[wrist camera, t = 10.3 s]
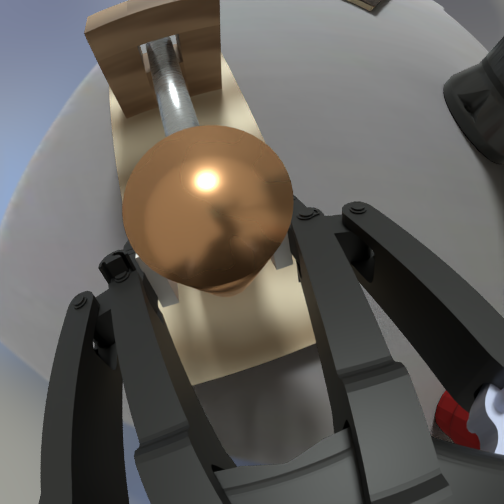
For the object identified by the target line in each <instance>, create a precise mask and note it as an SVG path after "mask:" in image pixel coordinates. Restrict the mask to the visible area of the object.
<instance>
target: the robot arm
mask: <svg viewBox="0 0 504 504" xmlns="http://www.w3.org/2000/svg"><path fill="white" fill-rule="evenodd" d="M443 91H444V96H445V100H446V102H447V105H448V107H449V109H450V111H451V113H452V115H453V116H454V118H455V120H456V121H457V123H458V124H459V126H460V127H461V129H462V130H463V132H464V133H465V134H466V136H467V137H468V138H469V139H470V141H471V142H472V143H473V144H474V145H475V146H476V147H477V149H478V150H479V151H480V152H481V153H483V154H484V155H485V156H486V157H487V158H489V159H490V160H491V161H493V162H495V163H498V164H502V163H504V37H503V38H502V39H501V40H500V41H499V42H498V43H497V45H496V46H495V47H494V48H493V49H492V50H491V51H490V52H489V53H488V54H487V56H486V57H485V58H484V59H483V60H482V61H481V62H480V63H479V64H477V65H475V66H472V67H470V68H468V69H466V70H463V71H461V72H459V73H457V74H454V75H453V76H451V77H450V79H449V80H448V81H447V82H446V83H445V85H444V88H443ZM293 202H294V203H293V214H292V219H291V223H290V226H289V229H288V231H287V234H286V236H285V238H284V240H283V242H282V243H281V245H280V246H279V248H278V249H277V250H276V252H275V253H274V255H273V256H272V257H271V258H270V259H271V261H272V263H273V264H274V266H275V268H276V270H278V269H281V268H284V267H287V266H290V265H293V259H292V255H293V257H294V258H295V259H296V265H297V273H298V282H301V286H302V290H303V293H304V297H305V301H306V305H307V308H308V312H309V316H310V320H311V324H312V328H313V332H314V336H315V340H316V344H317V348H318V352H319V357H320V361H321V365H322V369H323V374H324V378H325V382H326V387H327V391H328V396H329V400H330V405H331V410H332V416H333V426H334V433H335V434H333V435H331V436H329V437H326V438H324V439H322V440H321V441H320V442H318V443H317V444H315V445H314V446H312V447H311V448H309V449H308V450H307V451H305V452H304V453H302V454H300V455H299V456H297V457H296V458H294V459H293V460H291V461H289V462H287V463H284V464H274V465H258V466H239V467H237V466H236V465H235V463H234V462H233V460H232V459H231V458H230V457H229V455H228V454H227V453H226V452H225V450H224V449H223V447H222V445H221V443H220V441H219V440H218V438H217V436H216V434H215V432H214V430H213V428H212V426H211V424H210V422H209V420H208V419H207V417H206V415H205V412H204V410H203V408H202V406H201V404H200V402H199V400H198V398H197V396H196V394H195V392H194V389H193V387H192V385H191V383H190V381H189V378H188V376H187V374H186V372H185V369H184V367H183V365H182V362H181V360H180V357H179V355H178V353H177V350H176V348H175V345H174V343H173V340H172V338H171V335H170V332H169V330H168V327H167V324H166V322H165V319H164V316H163V314H162V312H161V311H160V309H159V307H158V300H159V302H160V303H161V305H162V307H163V308H164V307H167V306H170V305H173V304H177V303H179V295H178V284H177V282H174V281H171V280H169V279H167V278H165V277H163V276H161V275H159V274H158V273H156V272H155V271H153V270H152V269H151V268H150V267H148V266H147V265H146V264H145V263H144V262H143V261H142V260H141V259H140V257H139V256H138V255H137V254H136V252H135V251H134V249H133V248H132V246H131V244H130V242H129V240H128V241H127V243H126V244H125V246H124V249H123V250H117V251H115V252H112V253H111V254H109V255H107V256H106V257H105V258H104V259H103V260H102V261H101V263H100V264H99V270H100V271H101V273H102V275H103V276H104V278H105V279H106V281H107V283H108V285H109V289H108V290H107V291H105V292H104V293H102V294H100V295H99V296H97V297H95V296H94V295H93V294H92V292H90V291H85V292H82V293H80V294H78V295H77V296H75V297H74V299H73V300H72V301H71V303H70V305H69V307H68V310H67V313H66V317H65V320H64V323H63V327H62V330H61V334H60V338H59V341H58V345H57V349H56V353H55V358H54V362H53V367H52V371H51V376H50V382H49V387H48V393H47V399H46V406H45V413H44V423H43V432H42V445H41V496H40V500H39V504H129V497H128V490H127V482H126V472H125V461H124V447H123V427H122V426H123V423H122V385H123V383H124V388H125V392H126V396H127V400H128V404H129V408H130V412H131V415H132V419H133V422H134V426H135V429H136V432H137V436H138V439H139V443H140V446H139V448H138V449H137V450H136V451H135V454H134V459H135V463H136V467H137V470H138V472H139V475H140V478H141V481H142V483H143V486H144V488H145V491H146V493H147V495H148V498H149V500H150V503H151V504H504V318H503V317H502V316H501V315H500V314H499V313H498V312H497V311H496V310H495V309H494V308H493V307H492V306H491V305H490V304H489V303H488V302H487V301H486V300H485V299H484V298H483V297H482V296H481V295H480V294H479V293H478V292H477V291H476V290H475V289H474V288H473V287H472V286H471V285H470V284H468V283H467V282H466V281H465V280H464V279H463V278H462V277H461V276H460V275H459V274H457V273H456V272H455V271H454V270H453V269H452V268H451V267H450V266H448V265H447V264H446V263H445V262H444V261H443V260H441V259H440V258H439V257H438V256H437V255H435V254H434V253H433V252H432V251H431V250H429V249H428V248H427V247H426V246H424V245H423V244H422V243H421V242H419V241H418V240H417V239H416V238H414V237H413V236H412V235H411V234H409V233H408V232H407V231H405V230H404V229H403V228H401V227H400V226H399V225H397V224H396V223H395V222H393V221H392V220H391V219H389V218H388V217H386V216H385V215H384V214H382V213H381V212H379V211H378V210H377V209H375V208H374V207H372V206H371V205H369V204H367V203H363V202H351V203H348V204H346V205H344V206H343V207H342V215H333V216H324V214H323V213H322V212H321V211H320V210H319V209H316V208H310V207H308V208H307V207H306V206H305V205H304V204H303V203H302V202H301V201H300V200H299V199H297V198H296V197H295V196H294V195H293ZM372 250H373V251H372ZM358 281H359V282H358ZM359 283H360V284H361V285H362V286H363V287H364V288H365V289H366V290H367V292H368V293H369V294H370V295H371V296H372V297H373V299H374V300H375V301H376V302H377V303H378V304H379V306H380V307H381V308H382V309H383V310H384V312H385V313H386V314H387V315H388V316H389V317H390V319H391V320H392V321H393V322H394V324H395V325H396V326H397V327H398V328H399V330H400V331H401V332H402V333H403V335H404V336H405V337H406V338H407V340H408V341H409V342H410V343H411V345H412V346H413V347H414V348H415V350H416V351H417V352H418V353H419V355H420V356H421V357H422V359H423V360H424V361H425V362H426V364H427V365H428V366H429V368H430V369H431V370H432V372H433V373H434V374H435V376H436V377H437V378H438V380H439V381H440V382H441V384H442V385H443V387H444V388H445V389H446V390H447V392H448V393H449V394H450V395H451V397H452V398H453V399H454V400H455V401H456V402H457V403H458V404H459V405H460V406H461V407H462V408H463V409H464V410H466V411H467V412H468V413H469V419H468V421H467V429H468V431H469V432H471V433H476V435H477V436H478V438H479V441H480V450H478V449H474V448H470V447H466V446H462V445H458V444H455V443H451V442H447V441H444V440H441V439H437V438H434V437H431V435H430V432H429V429H428V426H427V423H426V420H425V417H424V414H423V411H422V408H421V405H420V402H419V399H418V397H417V394H416V391H415V388H414V386H413V383H412V381H411V378H410V375H409V373H408V371H407V369H406V367H405V366H404V365H403V364H402V363H401V362H395V361H394V360H393V358H392V357H391V354H390V352H389V349H388V347H387V345H386V342H385V340H384V337H383V335H382V333H381V330H380V328H379V326H378V323H377V321H376V319H375V316H374V314H373V312H372V310H371V308H370V305H369V303H368V301H367V299H366V297H365V295H364V292H363V290H362V288H361V286H360V284H359ZM93 342H94V343H95V347H94V348H93Z"/></svg>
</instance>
